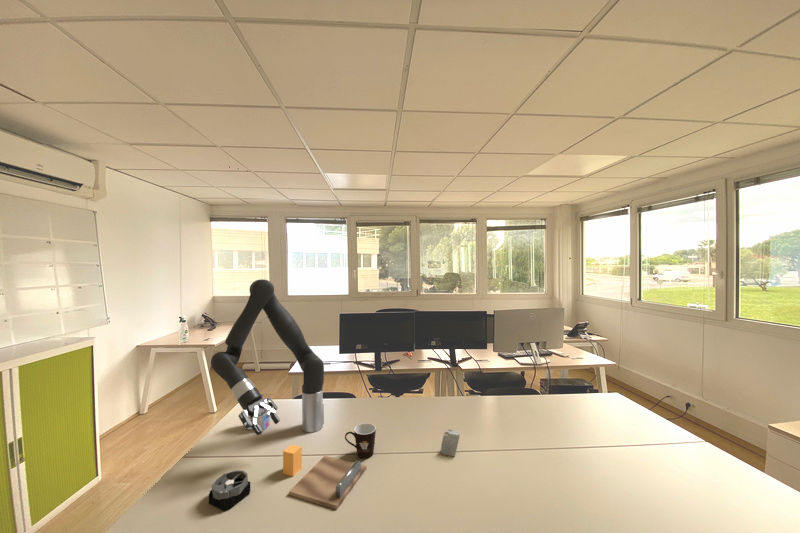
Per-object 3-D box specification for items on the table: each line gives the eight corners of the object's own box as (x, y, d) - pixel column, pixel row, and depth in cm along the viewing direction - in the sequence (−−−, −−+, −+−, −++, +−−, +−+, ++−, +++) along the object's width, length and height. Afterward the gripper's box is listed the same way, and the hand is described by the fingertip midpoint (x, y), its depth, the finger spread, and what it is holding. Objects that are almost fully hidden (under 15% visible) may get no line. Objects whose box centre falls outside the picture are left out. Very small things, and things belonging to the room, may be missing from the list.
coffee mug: (380, 450, 121) (379, 425, 121) (369, 463, 113) (368, 436, 113) (355, 444, 126) (355, 420, 126) (343, 455, 118) (343, 429, 118)
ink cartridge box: (270, 424, 143) (270, 394, 143) (264, 430, 138) (263, 399, 138) (251, 423, 144) (251, 393, 145) (244, 429, 139) (243, 398, 139)
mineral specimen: (463, 455, 116) (459, 435, 116) (441, 458, 118) (437, 438, 118) (463, 444, 123) (459, 425, 123) (442, 446, 125) (438, 427, 125)
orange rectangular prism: (291, 466, 112) (291, 444, 112) (301, 468, 111) (301, 446, 111) (283, 473, 108) (283, 451, 108) (293, 476, 106) (293, 453, 107)
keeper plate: (324, 458, 116) (324, 445, 116) (366, 468, 110) (366, 454, 110) (289, 495, 98) (289, 479, 98) (336, 509, 91) (336, 492, 91)
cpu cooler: (234, 466, 104) (254, 474, 100) (234, 483, 104) (254, 491, 99) (204, 485, 95) (225, 495, 90) (204, 504, 94) (225, 515, 90)
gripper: (235, 394, 110) (260, 431, 106) (265, 381, 123) (288, 413, 119) (225, 407, 112) (248, 444, 107) (255, 392, 125) (277, 424, 121)
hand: (269, 427), depth 113 cm, fingers open, 8 cm apart
